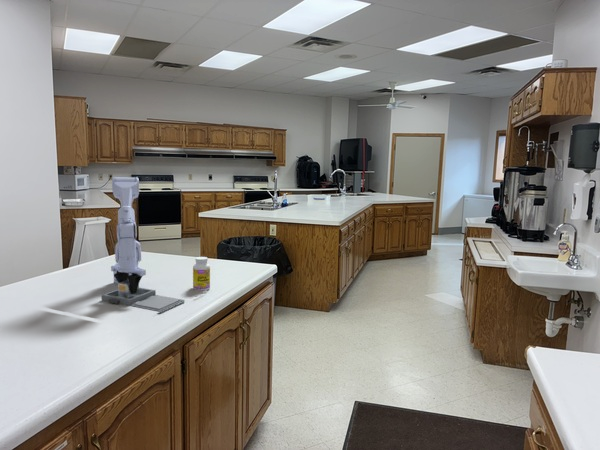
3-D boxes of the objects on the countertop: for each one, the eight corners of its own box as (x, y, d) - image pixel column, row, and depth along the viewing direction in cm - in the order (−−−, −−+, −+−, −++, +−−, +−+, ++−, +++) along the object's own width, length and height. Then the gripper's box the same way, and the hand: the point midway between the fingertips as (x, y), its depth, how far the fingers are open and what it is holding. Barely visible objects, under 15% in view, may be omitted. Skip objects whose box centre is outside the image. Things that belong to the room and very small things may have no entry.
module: (118, 296, 158) (117, 282, 157) (130, 292, 164) (130, 278, 163) (126, 298, 157) (126, 283, 156) (139, 293, 162) (138, 279, 161)
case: (99, 303, 156) (98, 295, 156) (128, 293, 169) (128, 285, 169) (157, 315, 146) (157, 306, 146) (184, 303, 159) (184, 295, 158)
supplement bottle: (195, 292, 172) (195, 260, 170) (191, 288, 178) (190, 257, 176) (212, 290, 175) (211, 259, 173) (207, 286, 181) (207, 255, 179)
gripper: (103, 256, 157) (105, 292, 159) (135, 260, 152) (136, 298, 154) (118, 252, 164) (120, 287, 166) (149, 256, 158) (150, 292, 160)
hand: (129, 292), depth 160 cm, fingers closed on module, 4 cm apart
